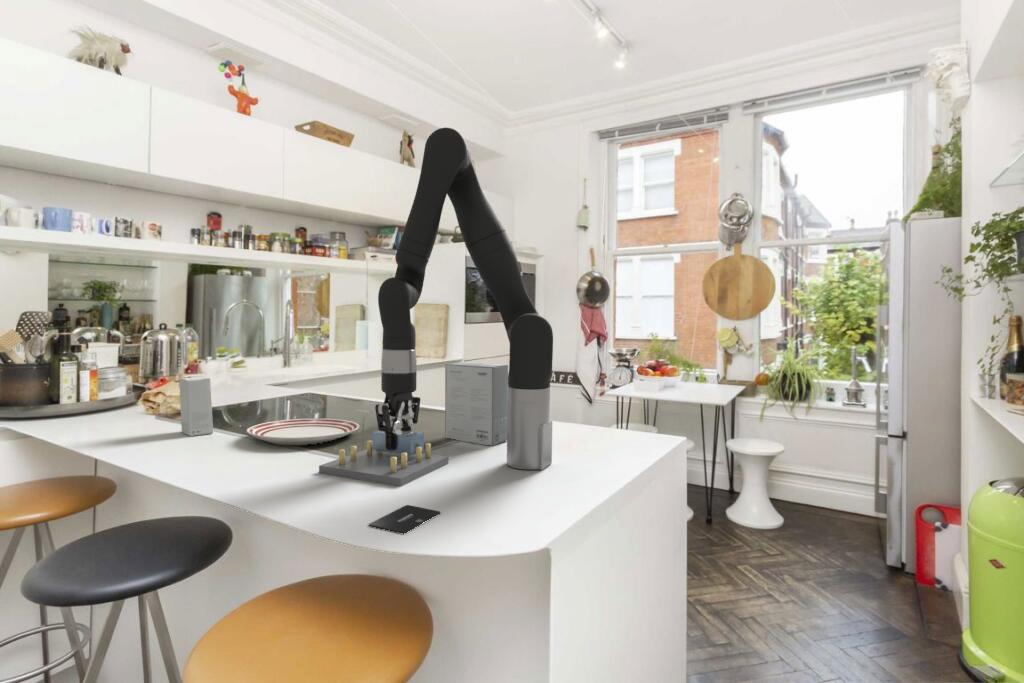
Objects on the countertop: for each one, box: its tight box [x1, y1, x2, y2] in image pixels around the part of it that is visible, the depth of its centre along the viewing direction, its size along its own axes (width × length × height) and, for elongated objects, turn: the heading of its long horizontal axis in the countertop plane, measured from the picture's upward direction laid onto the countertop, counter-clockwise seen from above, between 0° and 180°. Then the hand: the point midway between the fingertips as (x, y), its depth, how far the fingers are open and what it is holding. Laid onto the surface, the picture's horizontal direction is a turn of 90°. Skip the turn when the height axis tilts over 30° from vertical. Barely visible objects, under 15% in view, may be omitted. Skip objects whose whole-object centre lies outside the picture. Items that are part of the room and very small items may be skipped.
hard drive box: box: [444, 362, 509, 446], centre depth 145 cm, size 16×8×20 cm, turn 58°
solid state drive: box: [368, 504, 441, 535], centre depth 89 cm, size 7×10×1 cm
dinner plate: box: [246, 418, 360, 446], centre depth 145 cm, size 27×27×3 cm
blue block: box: [372, 428, 425, 456], centre depth 122 cm, size 10×5×4 cm, turn 66°
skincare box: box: [178, 376, 214, 437], centre depth 148 cm, size 8×6×15 cm
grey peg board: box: [318, 440, 449, 487], centre depth 118 cm, size 20×18×4 cm
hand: (398, 446), depth 122 cm, fingers closed on blue block, 5 cm apart
